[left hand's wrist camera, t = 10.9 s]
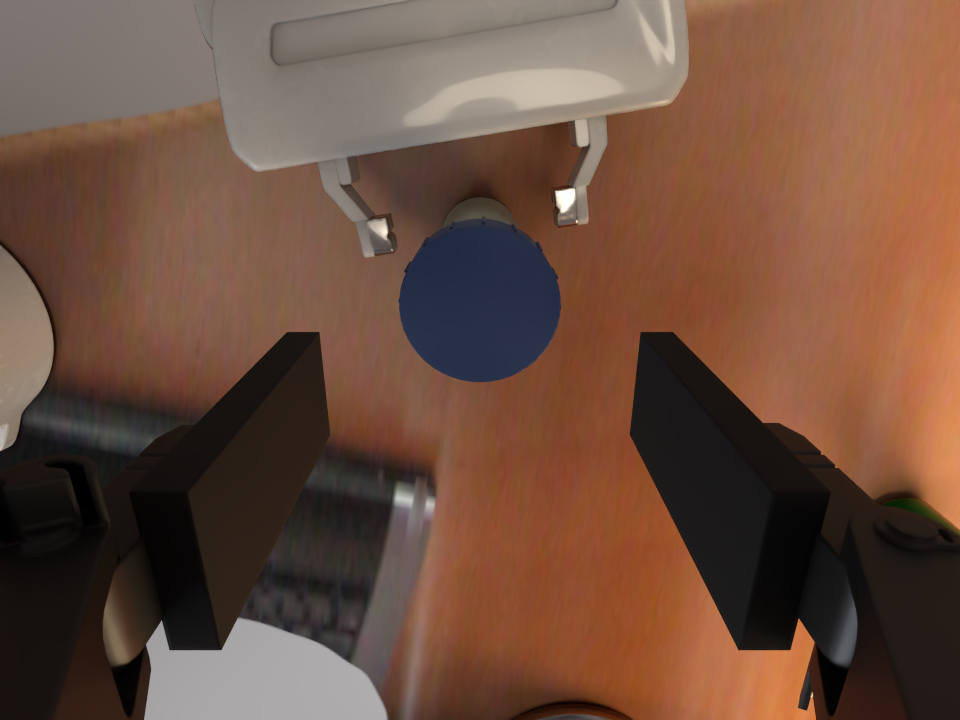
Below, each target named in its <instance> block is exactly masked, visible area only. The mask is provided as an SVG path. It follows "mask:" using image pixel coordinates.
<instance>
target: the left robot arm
mask: <svg viewBox="0 0 960 720" xmlns="http://www.w3.org/2000/svg"><path fill="white" fill-rule="evenodd" d="M329 436H330V429H329V420H328V410H327V401H326V391H325V382H324V372H323V363H322V353H321V344H320V335H319V332H287V333H286V334H285V335H284V336H283V337H282V338H281V339H280V340H279V341H278V342H277V343H276V344H275V345H274V346H273V347H272V348H271V349H270V350H269V351H268V352H267V353H266V354H265V355H264V356H263V357H262V358H261V359H260V360H259V361H258V362H257V363H256V364H255V365H254V366H253V367H252V368H251V369H250V370H249V371H248V372H247V373H246V374H245V375H244V376H243V377H242V378H241V379H240V380H239V381H238V382H237V383H236V384H235V385H234V386H233V387H232V388H231V389H230V390H229V391H228V392H227V393H226V394H225V395H224V396H223V397H222V398H221V399H220V400H219V401H218V402H217V403H216V404H215V405H214V406H213V407H212V408H211V409H210V411H209V412H208V413H207V414H206V415H205V416H204V417H203V418H202V419H201V420H200V421H199V422H198V423H197V424H196V425H181V426H179V427H177V428H175V429H173V430H171V431H169V432H168V433H166V434H164V435H162V436H160V437H158V438H156V439H155V440H154V441H153V442H152V443H151V444H150V445H149V446H148V447H147V448H146V449H144V450H143V451H142V452H141V453H140V457H136V458H135V459H134V460H133V461H132V462H130V463H129V464H128V465H127V466H126V470H122V471H121V472H120V473H119V474H118V475H117V476H115V477H114V478H113V479H112V480H111V481H110V482H109V483H108V484H107V485H106V486H105V487H104V488H102V485H101V481H100V478H99V474H98V470H97V467H96V463H95V462H94V461H93V460H91V459H90V458H88V457H86V456H79V455H71V454H68V455H57V456H48V457H43V458H39V459H35V460H30V461H26V462H23V463H20V464H18V465H15V466H12V467H10V468H7V469H4V470H2V471H0V720H144V716H145V708H146V702H147V695H148V687H149V680H150V673H151V665H150V659H149V654H148V651H147V647H146V643H147V642H148V640H149V639H150V637H151V636H152V634H153V633H154V631H155V630H156V628H157V627H158V625H159V624H160V622H161V620H162V622H163V626H164V630H165V634H166V638H167V642H168V646H169V649H170V650H222V648H223V646H224V644H225V642H226V640H227V638H228V636H229V634H230V632H231V630H232V628H233V626H234V624H235V622H236V620H237V618H238V616H239V614H240V612H241V610H242V608H243V606H244V604H245V602H246V600H247V598H248V596H249V594H250V592H251V590H252V588H253V586H254V584H255V582H256V580H257V578H258V576H259V575H260V573H261V571H262V569H263V567H264V565H265V563H266V561H267V559H268V557H269V555H270V553H271V551H272V549H273V547H274V545H275V543H276V541H277V539H278V537H279V535H280V533H281V531H282V529H283V527H284V525H285V523H286V521H287V519H288V517H289V515H290V513H291V511H292V509H293V507H294V505H295V503H296V501H297V499H298V497H299V495H300V493H301V491H302V489H303V487H304V485H305V483H306V481H307V479H308V477H309V475H310V473H311V471H312V469H313V467H314V466H315V464H316V462H317V460H318V458H319V456H320V454H321V452H322V450H323V448H324V446H325V444H326V442H327V440H328V438H329ZM630 436H631V438H632V440H633V442H634V444H635V446H636V448H637V450H638V452H639V454H640V456H641V458H642V460H643V462H644V464H645V466H646V467H647V469H648V471H649V473H650V475H651V477H652V479H653V481H654V483H655V485H656V487H657V489H658V491H659V493H660V495H661V497H662V499H663V501H664V503H665V505H666V507H667V509H668V511H669V513H670V515H671V517H672V519H673V521H674V523H675V525H676V527H677V529H678V531H679V533H680V535H681V537H682V539H683V541H684V543H685V545H686V547H687V549H688V551H689V553H690V555H691V557H692V559H693V561H694V563H695V565H696V567H697V569H698V571H699V573H700V575H701V577H702V578H703V580H704V582H705V584H706V586H707V588H708V590H709V592H710V594H711V596H712V598H713V600H714V602H715V604H716V606H717V608H718V610H719V612H720V614H721V616H722V618H723V620H724V622H725V624H726V626H727V628H728V630H729V632H730V634H731V636H732V638H733V640H734V642H735V644H736V646H737V648H738V650H790V649H791V646H792V642H793V638H794V634H795V630H796V626H797V622H798V618H799V619H800V620H801V622H802V623H803V625H804V626H805V628H806V629H807V631H808V632H809V634H810V636H811V637H812V639H813V640H814V642H815V644H814V647H813V651H812V654H811V658H810V662H809V665H808V669H807V672H806V676H805V680H804V683H803V687H802V690H801V694H800V699H799V706H798V708H800V709H803V710H807V708H808V705H809V701H810V698H811V697H813V700H814V707H815V714H816V720H960V536H959V535H958V534H956V533H955V532H953V531H952V530H950V529H949V528H947V527H946V526H944V525H943V524H941V523H939V522H937V521H935V520H933V519H930V518H928V517H926V516H923V515H921V514H919V513H916V512H912V511H908V510H905V509H901V508H897V507H891V506H881V505H878V504H877V503H876V502H875V501H874V500H872V499H871V498H870V497H869V496H868V495H867V494H866V493H865V492H864V491H863V490H862V489H861V488H859V487H858V486H857V485H856V484H855V483H854V482H853V481H852V480H851V479H850V478H849V477H848V476H846V475H845V474H844V473H843V472H842V471H841V470H840V469H839V468H835V464H833V463H832V462H831V461H830V460H829V459H828V458H827V457H826V456H825V455H821V452H820V451H819V450H818V449H817V448H816V447H815V446H814V445H813V444H812V443H811V442H810V441H809V440H807V439H806V438H805V437H804V436H802V435H801V434H799V433H797V432H795V431H793V430H791V429H789V428H787V427H785V426H783V425H781V424H779V423H762V422H761V421H760V420H759V419H758V418H757V417H756V416H755V415H754V414H753V413H752V412H751V411H750V409H749V408H748V407H747V406H746V405H745V404H744V403H743V402H742V401H741V400H740V399H739V398H738V397H737V396H736V395H735V394H734V393H733V392H732V391H731V390H730V389H729V388H728V387H727V386H726V385H725V384H724V383H723V382H722V381H721V380H720V379H719V378H718V377H717V376H716V375H715V374H714V373H713V372H712V371H711V370H710V369H709V368H708V367H707V366H706V365H705V364H704V363H703V362H702V361H701V360H700V359H699V358H698V357H697V356H696V355H695V354H694V353H693V352H692V351H691V350H690V349H689V348H688V347H687V346H686V345H685V344H684V343H683V342H682V341H681V340H680V339H679V338H678V337H677V336H676V335H675V334H674V333H673V332H641V335H640V344H639V353H638V363H637V372H636V382H635V391H634V401H633V410H632V420H631V429H630ZM513 720H630V719H628V718H627V717H625V716H623V715H621V714H619V713H617V712H614V711H612V710H609V709H606V708H602V707H598V706H592V705H584V704H561V705H553V706H548V707H543V708H539V709H536V710H533V711H530V712H527V713H525V714H523V715H521V716H519V717H517V718H515V719H513Z"/></svg>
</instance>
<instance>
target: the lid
mask: <svg viewBox="0 0 960 720" xmlns="http://www.w3.org/2000/svg"><path fill="white" fill-rule="evenodd" d="M542 251H543V250H542V248H541V246H540V244H539V243H538V242H536V243H535V242H534V241H533V240H532V239H531V238H530V237H529V236H528V235H526V234H525V233H524V232H522V231H521V230H519V229H518V228H516V226H515V225H514V224H512V226H511V225H509V224H507V223H504V222H501V221H497V220H491V219H485V217H482V219H468V220H464V221H459V222H456V223H455V222H454V221H452V222H451V225H448V226H446V227H445V228H443V229H441V230H439V231H438V232H436V233H435V234H434V235H432V236H431V237H430V238H428V237H427V238H426V239H425V241H424V243H423V244H422V247H421V248H420V249H419V250H418V252H417V254H416V255H415V257H414V259H413V261H412V262H409V264H408V265H407V267H406V269H405V271H404V272H406V274H405V277H404V279H403V283H402V286H401V291H400V298H399V310H400V317H401V322H402V325H403V329H404V331H405V334H406V336H407V338H408V340H409V342H410V343H411V345H412V347H413V348H414V349H415V351H416V352H417V353H418V354H419V356H420V357H421V358H422V359H423V360H424V361H426V362H427V363H428V364H429V365H431V366H432V367H433V368H435V369H436V370H438V371H440V372H442V373H443V374H446V375H448V376H450V377H453V378H457V379H460V380H465V381H471V382H488V381H495V380H500V379H504V378H507V377H510V376H512V375H514V374H516V373H518V372H520V371H522V370H524V369H525V368H527V367H528V366H530V365H531V364H532V363H533V362H534V361H536V360H537V359H538V358H539V356H540V355H541V354H542V353H543V352H544V351H545V349H546V348H547V347H548V345H549V344H550V342H551V340H552V338H553V336H554V334H555V331H556V328H557V326H558V321H559V317H560V309H561V302H560V292H559V286H558V283H557V280H556V279H558V277H557V275H556V273H555V271H554V269H553V268H551V266H550V264H549V262H548V261H547V259H546V257H545V255H544V254H543V252H542Z"/></svg>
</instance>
